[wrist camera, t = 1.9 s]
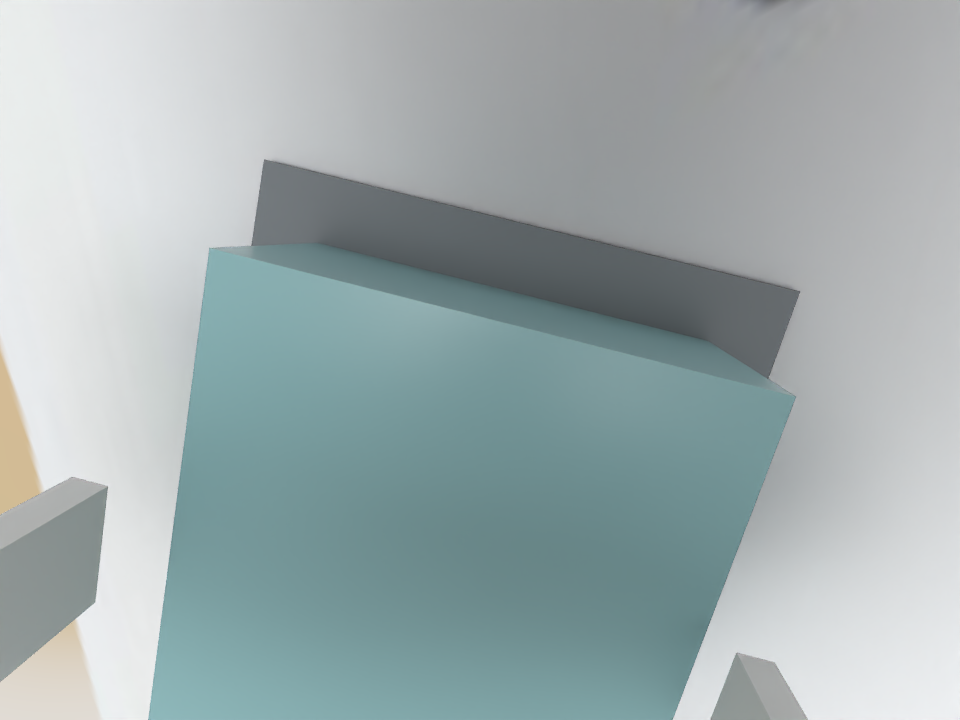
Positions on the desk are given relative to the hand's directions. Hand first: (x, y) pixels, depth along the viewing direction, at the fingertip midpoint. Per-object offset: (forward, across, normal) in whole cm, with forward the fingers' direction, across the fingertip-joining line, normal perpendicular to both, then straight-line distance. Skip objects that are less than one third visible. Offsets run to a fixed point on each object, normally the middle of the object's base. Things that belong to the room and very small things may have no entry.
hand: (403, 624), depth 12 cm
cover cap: (+7, 0, 0) cm, 7 cm away
